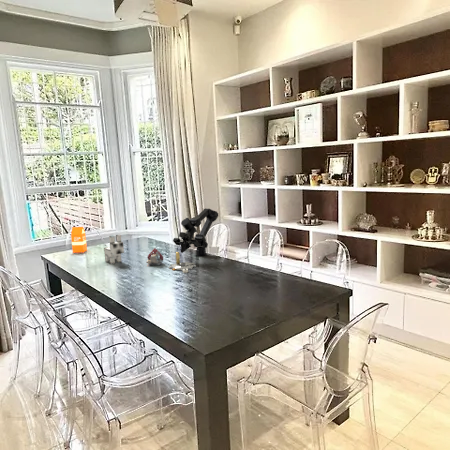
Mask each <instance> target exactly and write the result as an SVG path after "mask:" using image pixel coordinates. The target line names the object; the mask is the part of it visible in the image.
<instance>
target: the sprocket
mask: <svg viewBox="0 0 450 450" xmlns="http://www.w3.org/2000/svg"><path fill="white" fill-rule="evenodd" d="M180 255H181V254H180V251H176V252H175V260H176V261H175V263H171V264H170V265H169V266H168V269H171V271H175V270H178V271H183V269H185V268H186V269H188V270H193V268H196V267H197V265H196V263H195V262H189V261H185V262H184V261H183V262H181V257H180Z"/></svg>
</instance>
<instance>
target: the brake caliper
mask: <svg viewBox="0 0 450 450" xmlns="http://www.w3.org/2000/svg"><path fill="white" fill-rule="evenodd" d="M163 261H164V256H163V254H161V252H160V251H159V250H158V249H157V248H153V249H152V250H151V252H150V253H149V254H148V255H147V260H146V264H147V265H146V267H149V266H160V265H162V263H163Z"/></svg>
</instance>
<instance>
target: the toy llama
mask: <svg viewBox="0 0 450 450" xmlns="http://www.w3.org/2000/svg"><path fill="white" fill-rule="evenodd" d="M115 238H116V241H115ZM108 239H109V246H108V247H104V248H103V249H104V262H105V263H109V264H111V265H115V264H116V263H118V264H119V263H122V254H125V250H124V248H125V247H124V242H123V241H122V235H121V234H119V233H118V234H115V235H109V237H108Z"/></svg>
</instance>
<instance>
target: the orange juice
mask: <svg viewBox="0 0 450 450" xmlns="http://www.w3.org/2000/svg"><path fill="white" fill-rule="evenodd" d="M70 238H71V239H70V240H71V247H72V253H73V254H74V253H85V252H86V251H87V250H88V248H87V246H88V245H87V237H86V231H85V228H84V226H72V227H71V234H70Z"/></svg>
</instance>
